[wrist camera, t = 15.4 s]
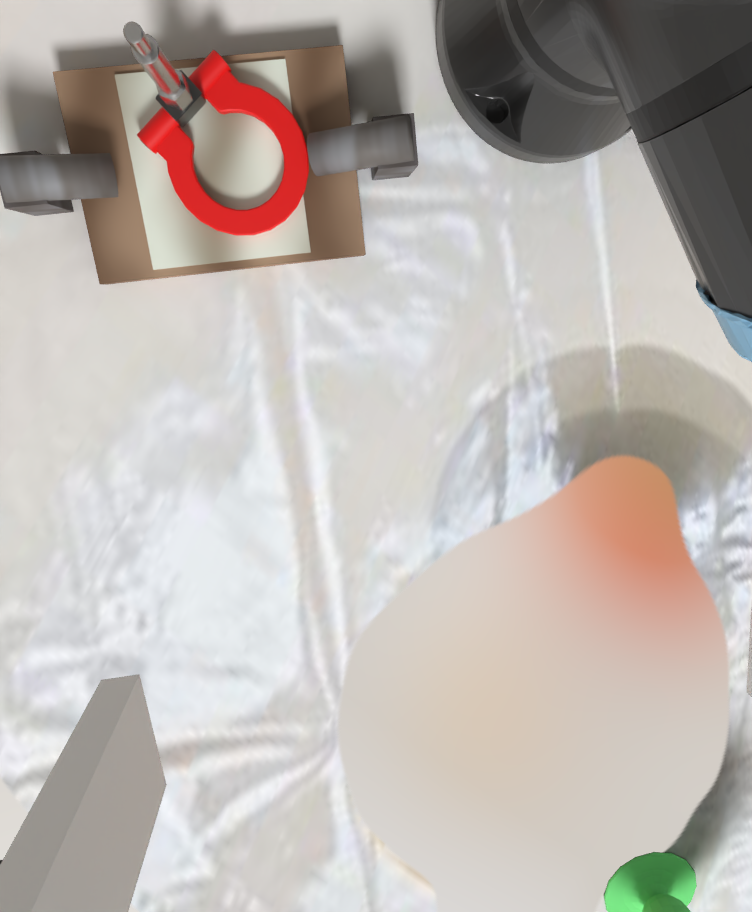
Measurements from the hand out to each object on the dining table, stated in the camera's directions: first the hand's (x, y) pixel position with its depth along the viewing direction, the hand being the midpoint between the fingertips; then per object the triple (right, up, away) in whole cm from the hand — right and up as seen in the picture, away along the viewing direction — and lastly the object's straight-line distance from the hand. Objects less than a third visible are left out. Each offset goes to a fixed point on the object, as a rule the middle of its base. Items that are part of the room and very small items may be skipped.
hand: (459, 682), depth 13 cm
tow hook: (-10, +23, +25) cm, 36 cm away
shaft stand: (-12, +23, +27) cm, 37 cm away
